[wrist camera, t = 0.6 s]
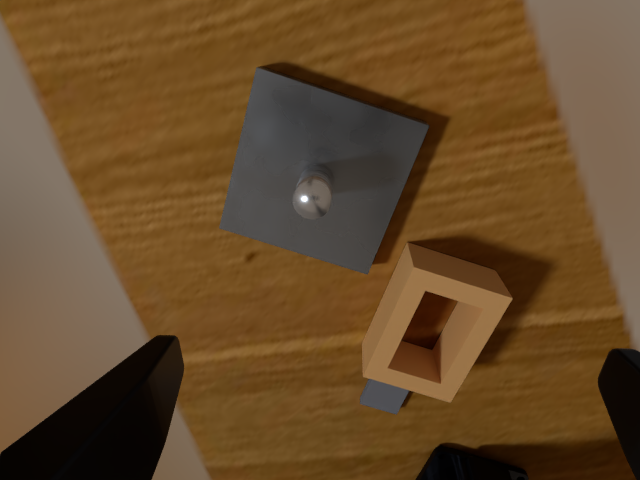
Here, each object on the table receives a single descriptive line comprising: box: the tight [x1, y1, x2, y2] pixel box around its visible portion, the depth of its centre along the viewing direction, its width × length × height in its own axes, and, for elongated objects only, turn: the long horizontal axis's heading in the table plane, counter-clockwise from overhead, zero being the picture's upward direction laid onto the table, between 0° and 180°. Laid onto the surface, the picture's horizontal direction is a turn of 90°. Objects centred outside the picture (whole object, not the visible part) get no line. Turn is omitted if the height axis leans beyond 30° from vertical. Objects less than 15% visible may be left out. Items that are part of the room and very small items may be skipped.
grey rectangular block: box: [360, 379, 409, 414], centre depth 26 cm, size 4×2×1 cm, turn 163°
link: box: [362, 242, 513, 403], centre depth 23 cm, size 7×5×3 cm
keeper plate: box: [219, 66, 429, 274], centre depth 20 cm, size 8×8×4 cm
